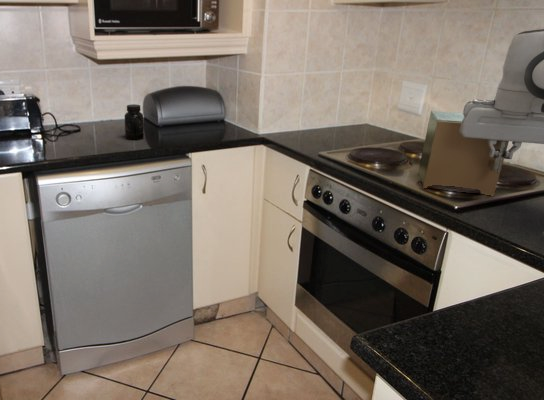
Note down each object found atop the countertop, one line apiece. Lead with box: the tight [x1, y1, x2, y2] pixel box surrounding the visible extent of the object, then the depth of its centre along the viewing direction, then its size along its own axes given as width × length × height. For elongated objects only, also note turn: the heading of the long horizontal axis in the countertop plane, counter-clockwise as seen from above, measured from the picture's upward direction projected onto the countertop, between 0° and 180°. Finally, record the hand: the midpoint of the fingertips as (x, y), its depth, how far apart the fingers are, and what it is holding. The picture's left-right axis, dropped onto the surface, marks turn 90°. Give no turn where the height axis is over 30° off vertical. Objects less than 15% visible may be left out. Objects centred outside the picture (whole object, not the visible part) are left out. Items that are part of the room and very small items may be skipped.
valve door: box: [422, 121, 510, 197], centre depth 123 cm, size 6×17×19 cm, turn 71°
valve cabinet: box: [417, 110, 464, 187], centre depth 131 cm, size 12×17×19 cm
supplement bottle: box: [123, 104, 145, 141], centre depth 174 cm, size 7×7×12 cm
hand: (500, 157), depth 118 cm, fingers closed on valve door, 2 cm apart
